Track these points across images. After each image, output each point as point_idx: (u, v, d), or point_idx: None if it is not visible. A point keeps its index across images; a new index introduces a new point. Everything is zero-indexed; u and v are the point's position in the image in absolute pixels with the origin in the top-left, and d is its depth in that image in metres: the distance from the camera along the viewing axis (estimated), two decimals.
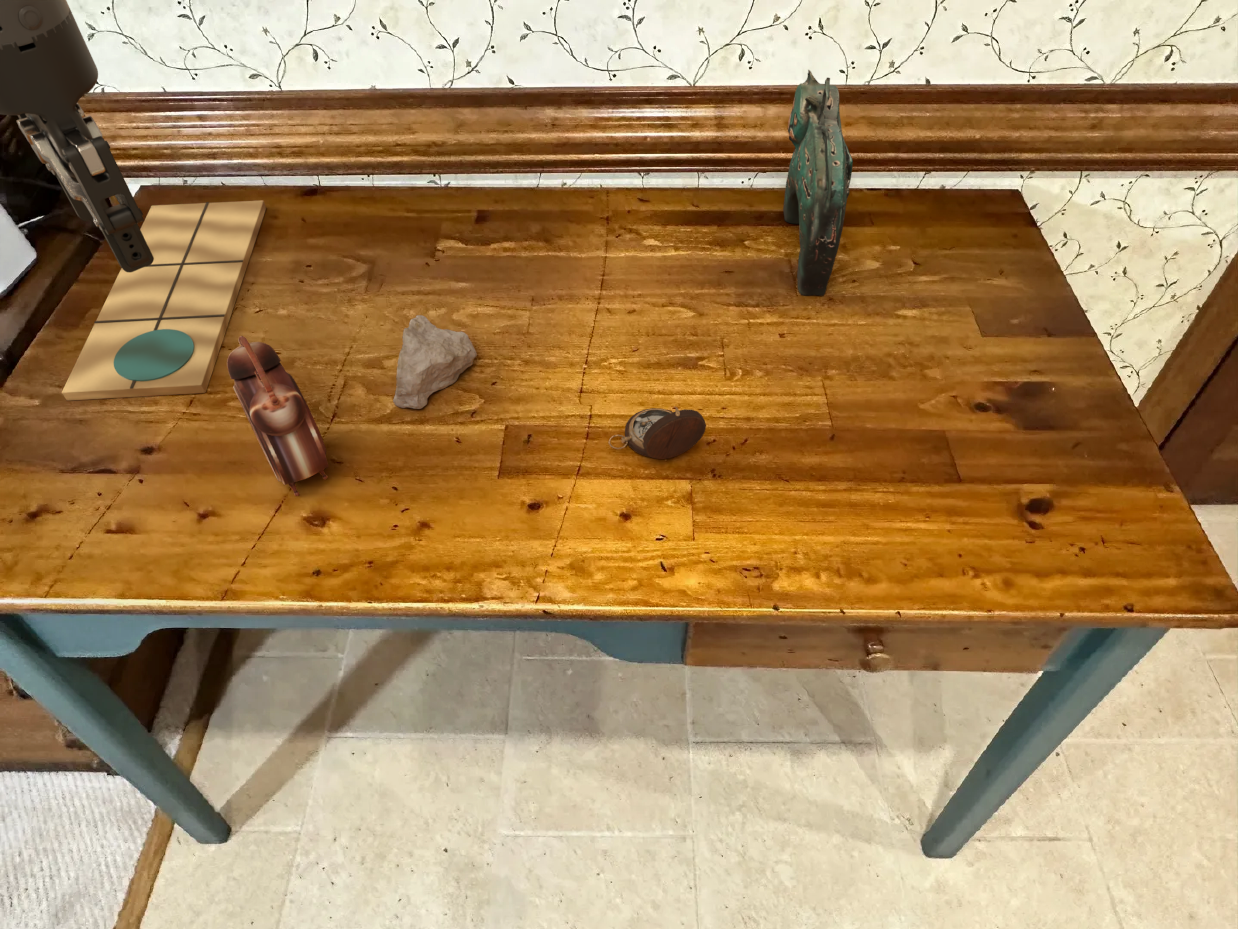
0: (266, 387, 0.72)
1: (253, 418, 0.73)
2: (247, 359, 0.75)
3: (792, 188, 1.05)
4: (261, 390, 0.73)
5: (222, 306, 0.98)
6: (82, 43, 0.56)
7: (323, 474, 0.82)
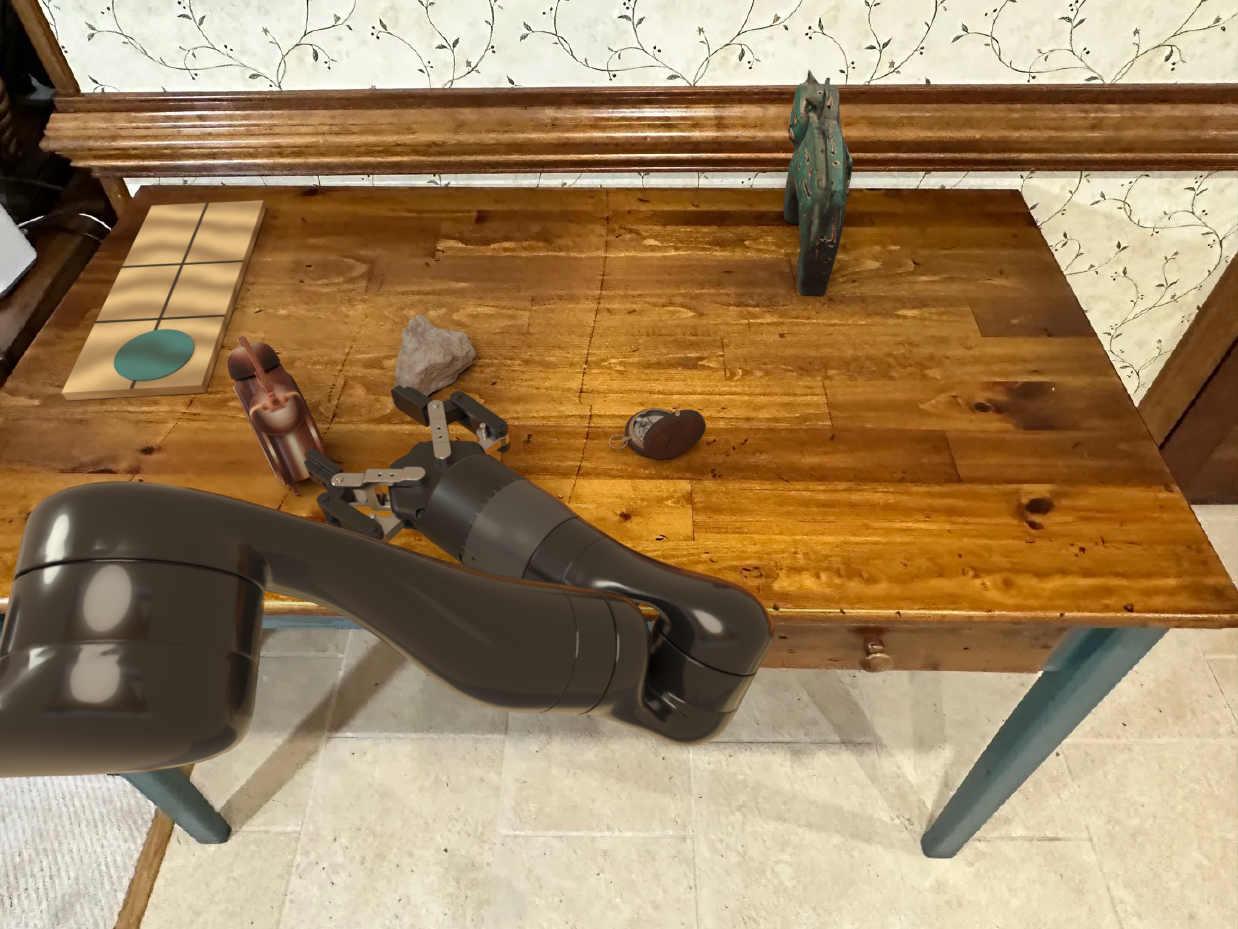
0: (266, 387, 0.72)
1: (253, 418, 0.73)
2: (247, 359, 0.75)
3: (792, 188, 1.05)
4: (261, 390, 0.73)
5: (222, 306, 0.98)
6: None
7: None
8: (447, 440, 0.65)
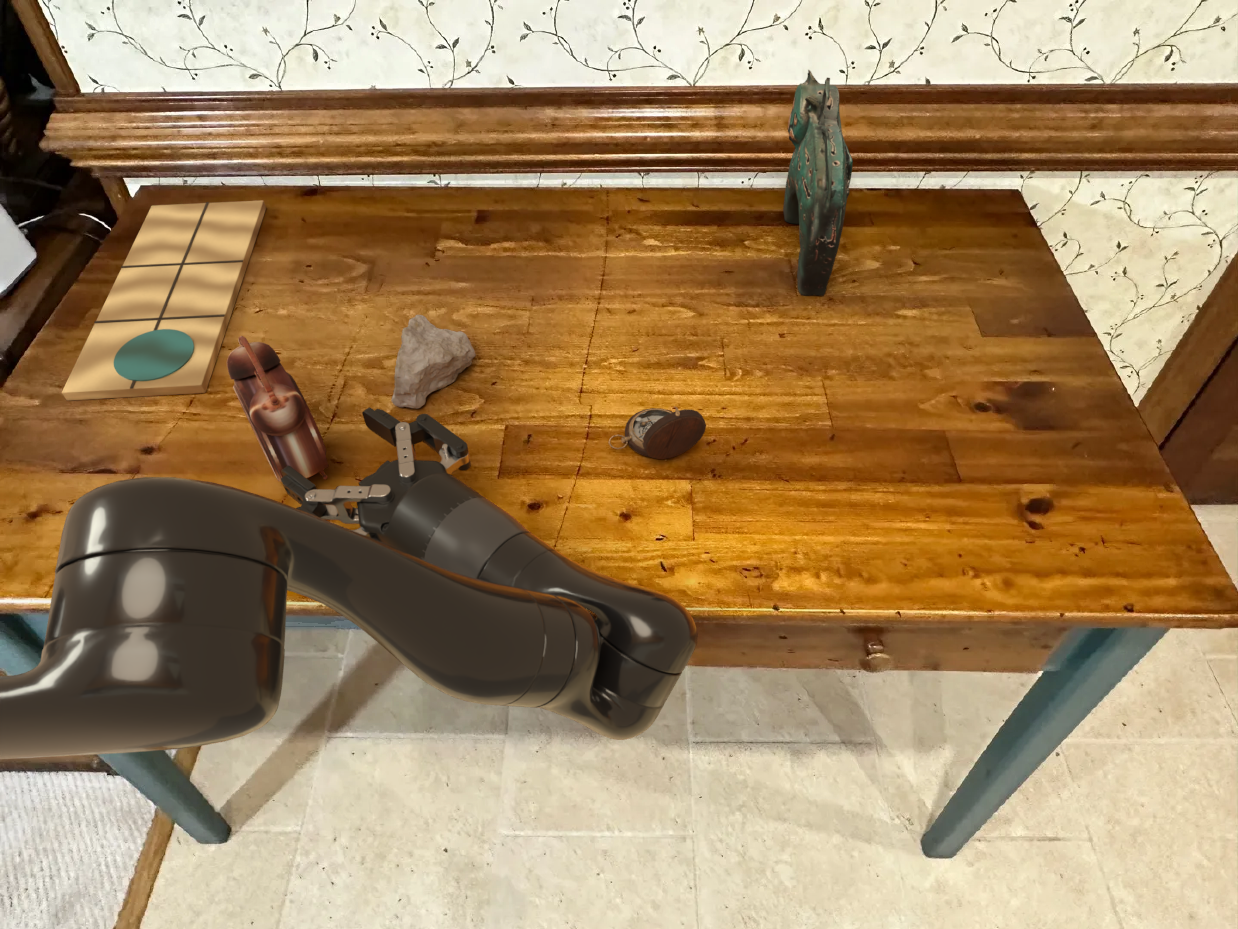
0: (266, 387, 0.72)
1: (253, 418, 0.73)
2: (247, 359, 0.75)
3: (792, 188, 1.05)
4: (261, 390, 0.73)
5: (222, 306, 0.98)
6: None
7: (323, 474, 0.82)
8: (411, 460, 0.71)
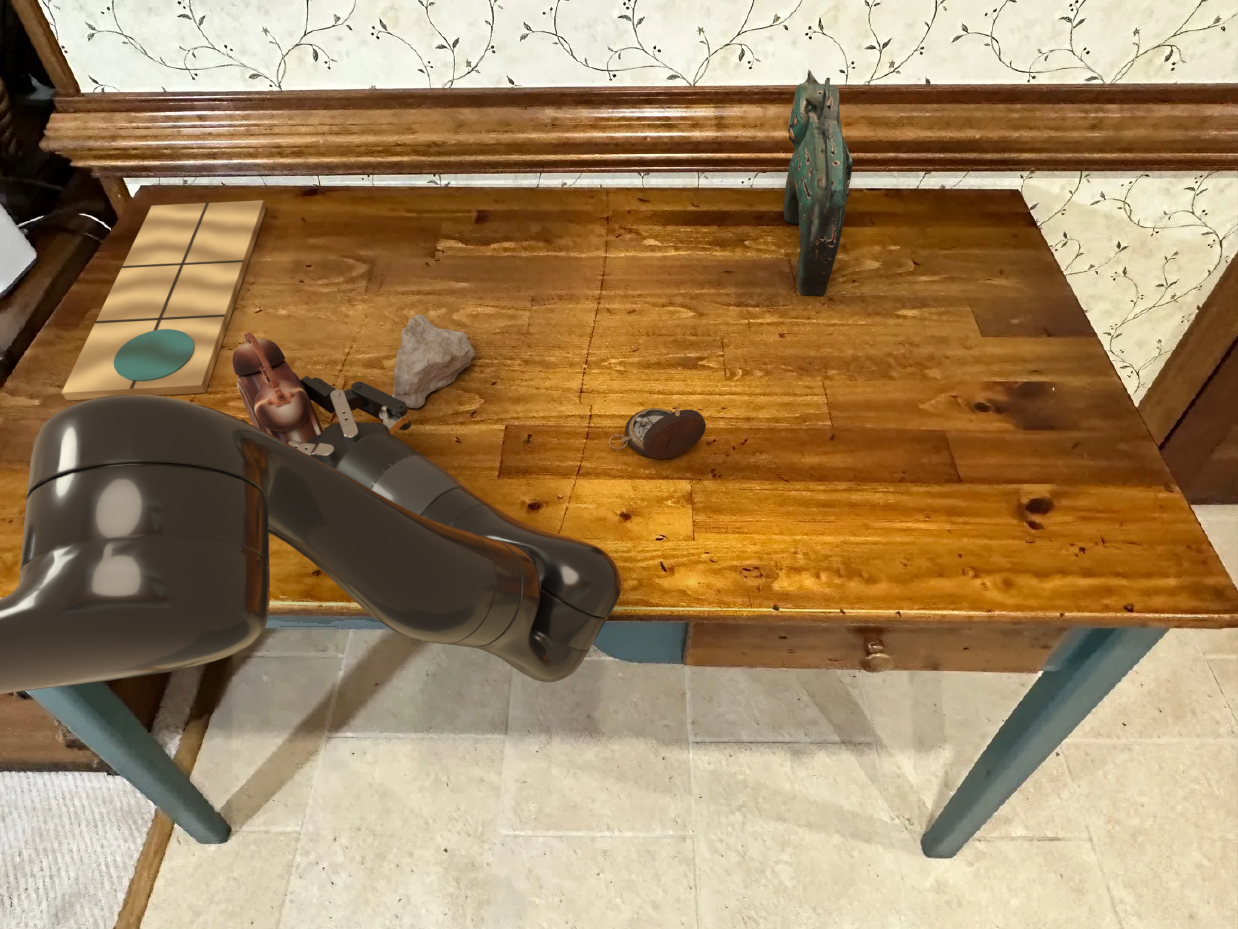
0: (272, 382, 0.72)
1: (258, 413, 0.73)
2: (252, 355, 0.75)
3: (792, 188, 1.05)
4: (267, 385, 0.73)
5: (222, 306, 0.98)
6: None
7: None
8: None
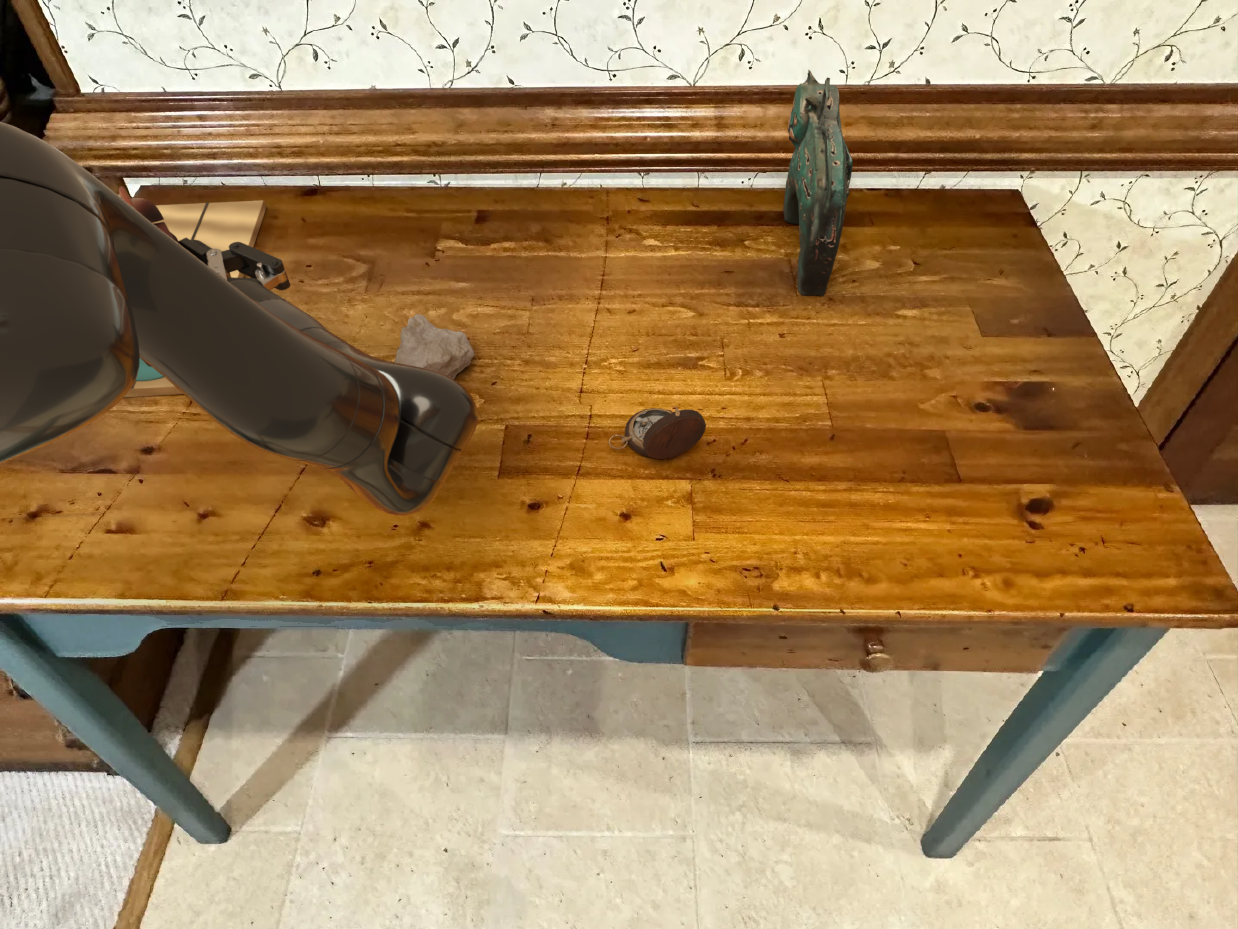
0: None
1: None
2: None
3: (792, 188, 1.05)
4: None
5: None
6: None
7: None
8: (227, 274, 0.72)
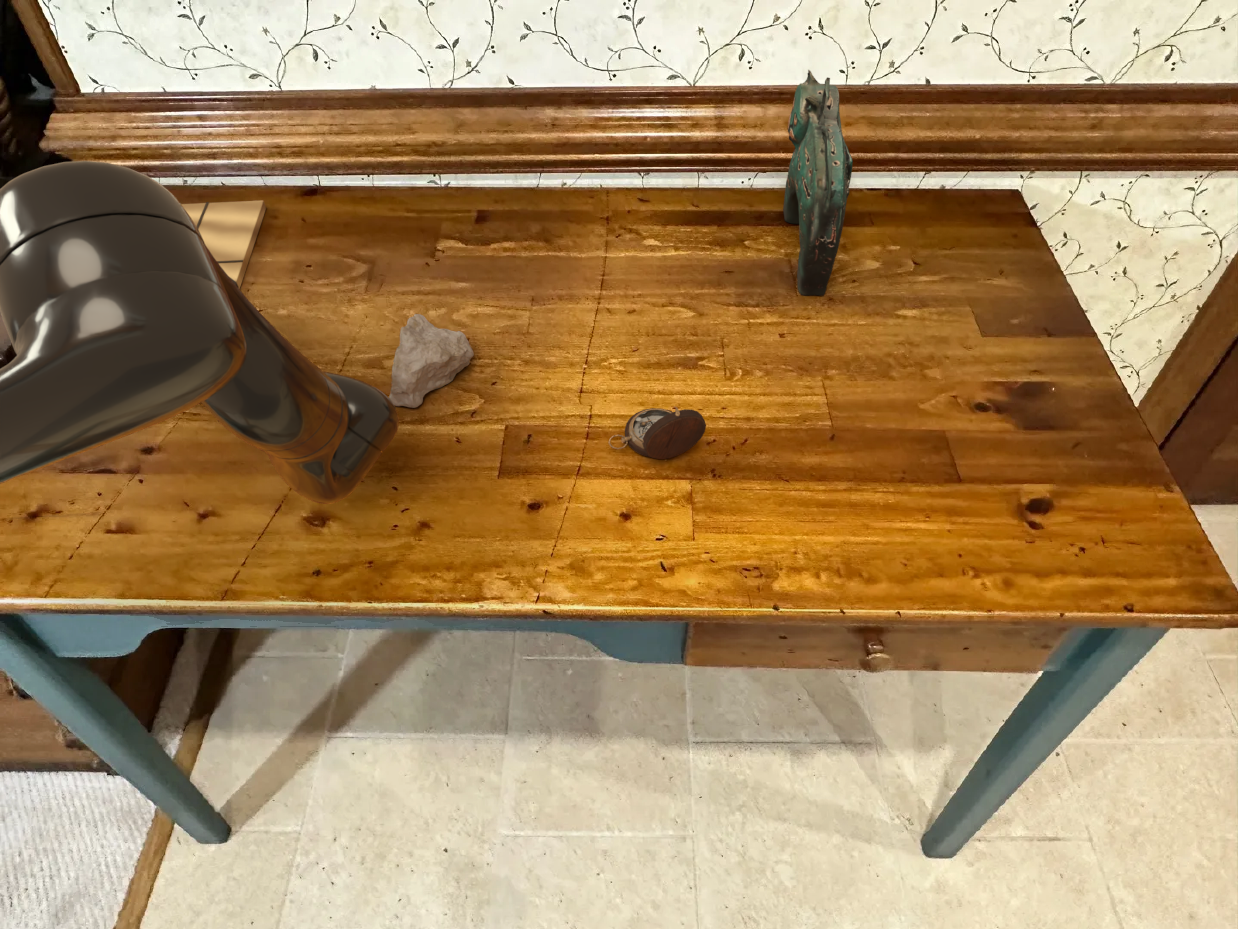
0: None
1: None
2: None
3: (792, 188, 1.05)
4: None
5: None
6: None
7: None
8: None
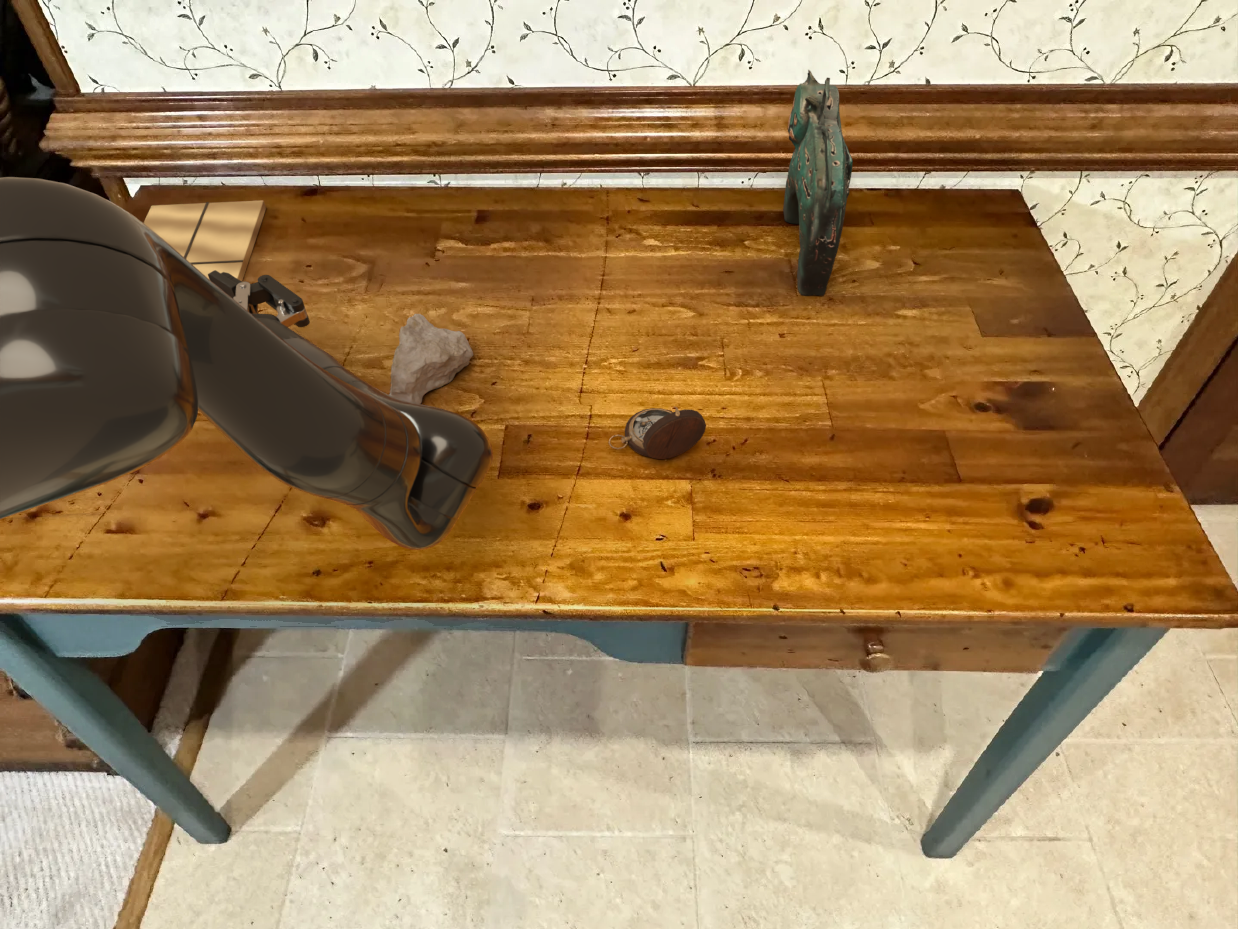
0: None
1: None
2: None
3: (792, 188, 1.05)
4: None
5: None
6: None
7: None
8: None
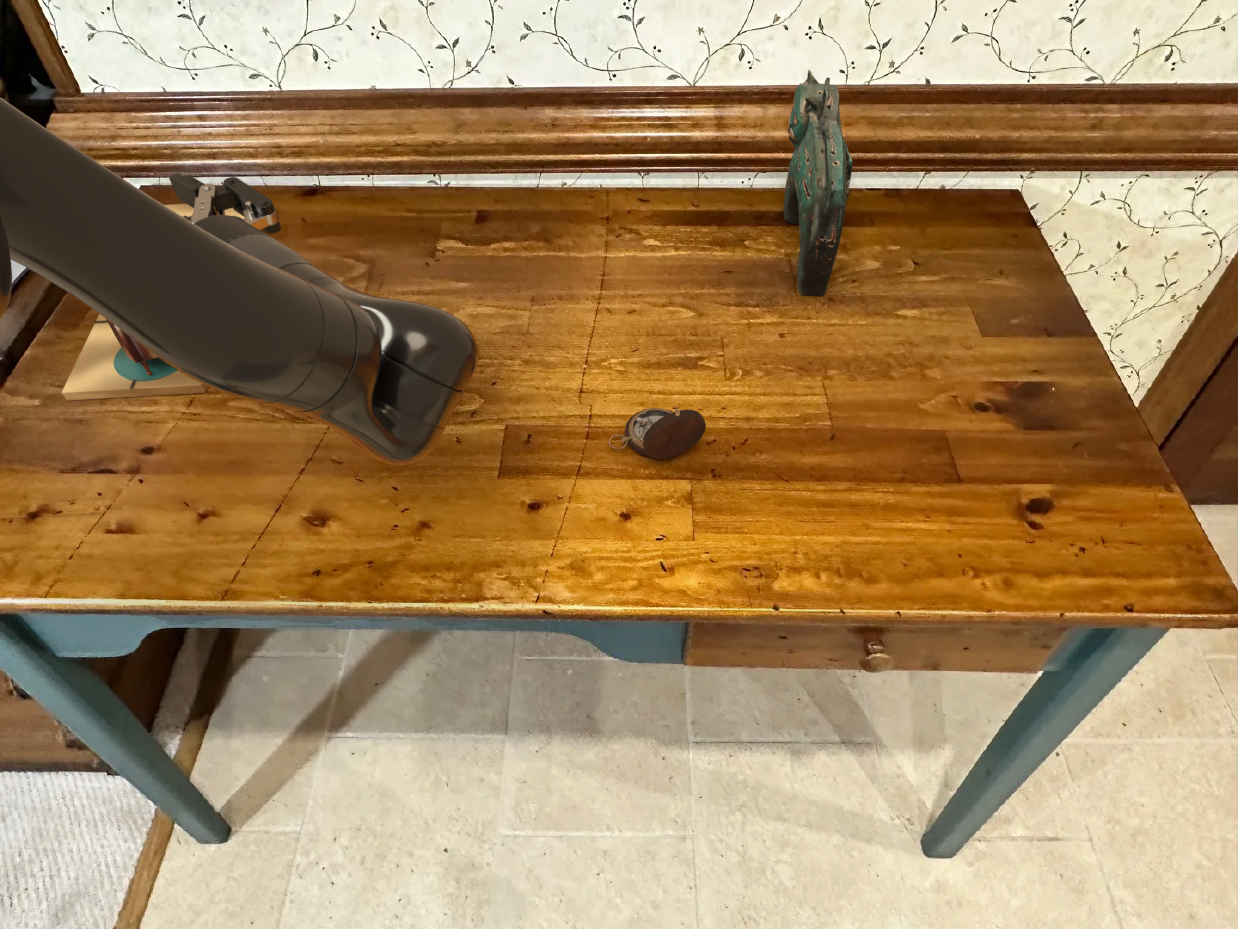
0: None
1: None
2: None
3: (792, 188, 1.05)
4: None
5: None
6: None
7: None
8: (208, 211, 0.67)
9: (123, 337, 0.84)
